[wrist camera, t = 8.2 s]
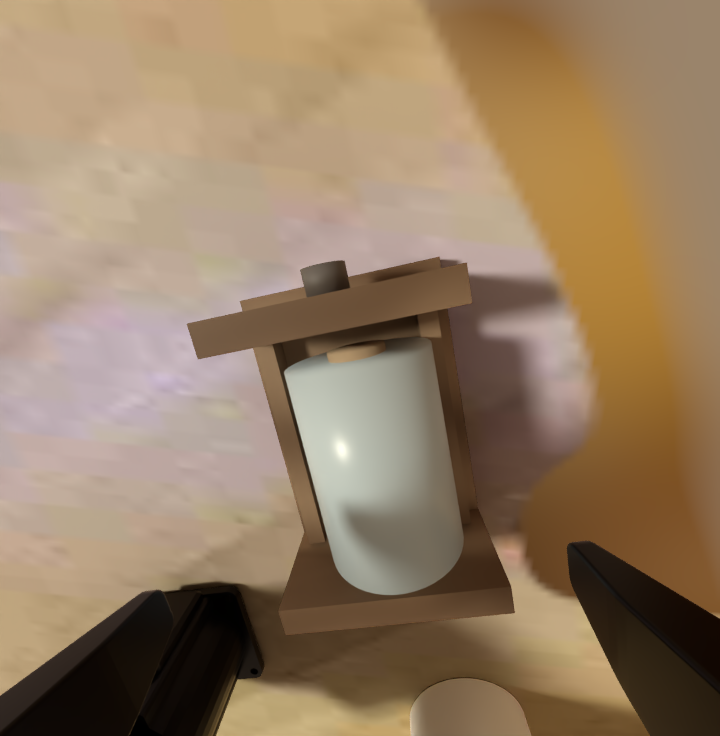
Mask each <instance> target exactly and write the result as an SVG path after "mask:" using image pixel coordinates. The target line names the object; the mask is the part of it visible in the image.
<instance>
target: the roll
mask: <svg viewBox="0 0 720 736" xmlns="http://www.w3.org/2000/svg"><path fill="white" fill-rule="evenodd" d="M284 375H285V379H286V382H287V386H288V390H289V394H290V397H291V401H292V405H293V409H294V413H295V416H296V420H297V424H298V428H299V431H300V435H301V439H302V443H303V447H304V450H305V454H306V458H307V462H308V465H309V469H310V473H311V477H312V481H313V484H314V488H315V492H316V496H317V499H318V503H319V507H320V511H321V515H322V518H323V522H324V526H325V530H326V533H327V537H328V541H329V545H330V549H331V552H332V556H333V560H334V563H335V566H336V568H337V570H338V572H339V573H340V575H341V576H342V577H343V578H344V579H345V580H346V581H347V582H349V583H350V584H351V585H353V586H355V587H356V588H358V589H361V590H363V591H366V592H370V593H374V594H381V595H399V594H406V593H410V592H415V591H418V590H420V589H423V588H426V587H428V586H430V585H432V584H434V583H435V582H437V581H438V580H440V579H441V578H443V577H444V576H445V575H446V574H447V573H448V572H449V571H450V570H451V569H452V568H453V567H454V565H455V564H456V562H457V561H458V559H459V557H460V555H461V552H462V549H463V544H464V536H463V529H462V523H461V517H460V511H459V505H458V499H457V493H456V487H455V481H454V475H453V469H452V463H451V457H450V451H449V445H448V439H447V433H446V427H445V421H444V415H443V409H442V403H441V397H440V391H439V385H438V379H437V373H436V367H435V361H434V355H433V349H432V343H431V340H430V339H427V338H421V337H406V338H394V339H386V340H370V341H363V342H358V343H353V344H349V345H345V346H341V347H338V348H335V349H332V350H330V351H328V352H325V353H322V354H319V355H316V356H313V357H310V358H307V359H304V360H302V361H300V362H297V363H295V364H293V365H291V366H290V367H288V368H287V369H286V370H285V371H284Z"/></svg>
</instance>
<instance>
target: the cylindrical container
mask: <svg viewBox="0 0 720 736" xmlns="http://www.w3.org/2000/svg"><path fill="white" fill-rule="evenodd" d="M410 729H411V736H531V733H530V730H529V727H528V724H527V721H526V718H525V715H524V712H523V710H522V708H521V706H520V704H519V702H518V701H517V700H516V699H515V698H514V697H513V695H511V694H510V693H509V692H507V691H506V690H505V689H503V688H501V687H499V686H497V685H495V684H493V683H490V682H487V681H484V680H479V679H472V678H458V679H450V680H446V681H443V682H439V683H437V684H435V685H433V686H431V687H429V688H427V689H426V690H425V691H424V692H422V693H421V694H420V695H419V696H418V698H417V699H416V700H415V701H414V704H413V706H412V708H411V712H410Z"/></svg>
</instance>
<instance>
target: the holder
mask: <svg viewBox="0 0 720 736" xmlns="http://www.w3.org/2000/svg"><path fill="white" fill-rule="evenodd" d="M300 271H301V275H302V280H303V284H304V287H302V288H297V289H293V290H288V291H284V292H279V293H275V294H270V295H266V296H261V297H257V298H252V299H248V300H243V301H240V303H241V307H242V310H243V312H238V313H234V314H229V315H225V316H220V317H216V318H211V319H206V320H202V321H197V322H193V323H188V324H187V326H188V329H189V332H190V336H191V339H192V342H193V345H194V348H195V351H196V355H197V358H198V359H202V358H207V357H212V356H216V355H221V354H226V353H231V352H236V351H241V350H246V349H251V348H253V350H254V353H255V357H256V360H257V364H258V367H259V371H260V375H261V378H262V382H263V385H264V389H265V392H266V396H267V400H268V403H269V407H270V410H271V414H272V417H273V421H274V425H275V428H276V432H277V435H278V439H279V442H280V446H281V450H282V453H283V457H284V460H285V464H286V467H287V471H288V475H289V478H290V482H291V485H292V489H293V492H294V496H295V500H296V503H297V507H298V510H299V514H300V517H301V521H302V524H303V528H304V535H303V538H302V541H301V544H300V547H299V550H298V553H297V556H296V559H295V562H294V565H293V568H292V571H291V574H290V577H289V580H288V583H287V586H286V589H285V592H284V595H283V598H282V601H281V604H280V607H279V610H278V613H279V616H280V619H281V622H282V625H283V629H284V632H285V635H293V634H304V633H314V632H324V631H335V630H345V629H355V628H366V627H376V626H386V625H397V624H407V623H417V622H428V621H438V620H448V619H459V618H469V617H479V616H490V615H500V614H510V613H515V611H514V604H513V597H512V589H511V585H510V583H509V580H508V578H507V576H506V573H505V571H504V569H503V566H502V564H501V562H500V559H499V557H498V555H497V552H496V550H495V548H494V545H493V543H492V540H491V538H490V536H489V533H488V531H487V529H486V526H485V524H484V522H483V519H482V517H481V515H480V512H479V510H478V506H477V499H476V493H475V486H474V480H473V473H472V467H471V460H470V453H469V447H468V440H467V434H466V427H465V421H464V414H463V408H462V401H461V395H460V388H459V382H458V375H457V368H456V362H455V355H454V349H453V342H452V336H451V329H450V323H449V316H448V310H447V308H451V307H456V306H461V305H466V304H471V303H472V298H471V290H470V283H469V276H468V268H467V263H463V264H458V265H453V266H449V267H444V268H441V264H440V257H436V258H432V259H427V260H423V261H418V262H414V263H409V264H405V265H400V266H396V267H391V268H387V269H382V270H378V271H373V272H369V273H364V274H360V275H355V276H351V277H348V275H347V270H346V265H345V261H332V262H326V263H321V264H317V265H313V266H309V267H306V268H303V269H301V270H300ZM406 337H421V338H427V339H430V340H431V343H432V349H433V355H434V361H435V367H436V373H437V379H438V385H439V391H440V397H441V403H442V409H443V415H444V421H445V427H446V433H447V439H448V445H449V451H450V457H451V463H452V469H453V475H454V481H455V487H456V493H457V499H458V505H459V511H460V517H461V523H462V529H463V536H464V544H463V549H462V552H461V555H460V557H459V559H458V561H457V562H456V564H455V565H454V567H453V568H452V569H451V570H450V571H449V572H448V573H447V574H446V575H445V576H444V577H443V578H441V579H440V580H438V581H437V582H435V583H434V584H432V585H430V586H428V587H426V588H423V589H420V590H418V591H415V592H410V593H406V594H399V595H381V594H374V593H370V592H366V591H363V590H361V589H358V588H356V587H355V586H353V585H351V584H350V583H349V582H347V581H346V580H345V579H344V578H343V577H342V576H341V575H340V573H339V572H338V570H337V568H336V566H335V563H334V560H333V556H332V552H331V549H330V545H329V541H328V537H327V533H326V530H325V526H324V522H323V518H322V515H321V511H320V507H319V503H318V499H317V496H316V492H315V488H314V484H313V481H312V477H311V473H310V469H309V465H308V462H307V458H306V454H305V450H304V447H303V443H302V439H301V435H300V431H299V428H298V424H297V420H296V416H295V413H294V409H293V405H292V401H291V397H290V394H289V390H288V386H287V382H286V379H285V375H284V371H285V370H286V369H287V368H288V367H290V366H291V365H293V364H295V363H297V362H300V361H302V360H304V359H307V358H310V357H313V356H316V355H319V354H322V353H325V352H328V351H330V350H332V349H335V348H338V347H341V346H345V345H349V344H353V343H358V342H363V341H370V340H386V339H394V338H406Z"/></svg>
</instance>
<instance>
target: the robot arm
mask: <svg viewBox="0 0 720 736" xmlns="http://www.w3.org/2000/svg"><path fill="white" fill-rule="evenodd" d="M567 554H568V566H569V575H570V581H571V584H572V587H573V589H574V591H575V593H576V596H577V598H578V600H579V602H580V604H581V606H582V608H583V610H584V612H585V614H586V616H587V618H588V620H589V622H590V624H591V626H592V628H593V630H594V632H595V635H596V637H597V639H598V641H599V643H600V645H601V647H602V649H603V651H604V653H605V655H606V657H607V659H608V661H609V663H610V665H611V667H612V669H613V671H614V673H615V675H616V677H617V679H618V681H619V683H620V685H621V686H622V688H623V690H624V692H625V694H626V695H627V697H628V699H629V701H630V702H631V704H632V706H633V707H634V709H635V711H636V712H637V714H638V716H639V717H640V719H641V721H642V722H643V724H644V726H645V727H646V729H647V731H648V733H649V734H650V736H720V619H719V618H718V617H716V616H714V615H713V614H711V613H709V612H708V611H706V610H704V609H703V608H701V607H699V606H698V605H696V604H694V603H693V602H691V601H689V600H688V599H686V598H684V597H683V596H681V595H679V594H678V593H676V592H674V591H673V590H671V589H669V588H668V587H666V586H664V585H663V584H661V583H659V582H658V581H656V580H654V579H653V578H651V577H650V576H648V575H646V574H645V573H643V572H641V571H640V570H638V569H636V568H635V567H633V566H631V565H630V564H628V563H626V562H625V561H623V560H621V559H620V558H618V557H616V556H615V555H613V554H611V553H610V552H608V551H606V550H605V549H603V548H601V547H599V546H598V545H596V544H595V543H593V542H590V541H580V542H572V543H569V544H568V546H567ZM263 669H264V662H263V659H262V656H261V653H260V650H259V648H258V645H257V642H256V639H255V636H254V633H253V630H252V627H251V624H250V621H249V618H248V615H247V612H246V609H245V607H244V604H243V601H242V598H241V595H240V592H239V590H238V589H237V588H236V587H233V586H226V587H217V588H208V589H200V590H191V591H183V592H174V593H166V594H164V593H163V592H162V591H161V590H152V591H145V592H142V593H140V594H139V595H138V596H136V597H135V598H133V599H132V600H131V601H129V602H128V603H127V604H125V605H124V606H123V607H121V608H120V609H118V610H117V611H116V612H114V613H113V614H112V615H110V616H109V617H107V618H106V619H105V620H103V621H102V622H101V623H99V624H98V625H97V626H95V627H94V628H92V629H91V630H90V631H88V632H87V633H86V634H84V635H83V636H81V637H80V638H79V639H77V640H76V641H75V642H73V643H72V644H71V645H69V646H68V647H66V648H65V649H64V650H62V651H61V652H60V653H58V654H57V655H55V656H54V657H53V658H51V659H50V660H49V661H47V662H46V663H45V664H43V665H42V666H40V667H39V668H38V669H36V670H35V671H34V672H32V673H31V674H29V675H28V676H27V677H25V678H24V679H23V680H21V681H20V682H19V683H17V684H16V685H14V686H13V687H12V688H10V689H9V690H8V691H6V692H5V693H3V694H2V695H1V696H0V736H216V734H217V731H218V729H219V726H220V723H221V721H222V718H223V716H224V713H225V710H226V708H227V705H228V702H229V700H230V697H231V694H232V692H233V689H234V687H235V684H236V681H237V679H246V678H257V677H260V676H261V674H262V672H263Z"/></svg>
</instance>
